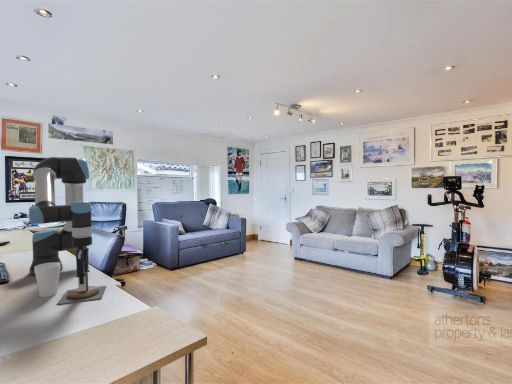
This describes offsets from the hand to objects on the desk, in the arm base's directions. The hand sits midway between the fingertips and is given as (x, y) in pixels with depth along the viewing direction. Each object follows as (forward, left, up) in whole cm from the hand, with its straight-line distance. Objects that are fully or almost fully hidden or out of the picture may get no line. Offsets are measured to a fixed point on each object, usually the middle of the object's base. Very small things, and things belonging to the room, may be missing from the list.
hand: (83, 289), depth 126 cm
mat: (0, 0, -3) cm, 3 cm away
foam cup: (-7, -15, -3) cm, 17 cm away
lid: (0, 0, -2) cm, 2 cm away
